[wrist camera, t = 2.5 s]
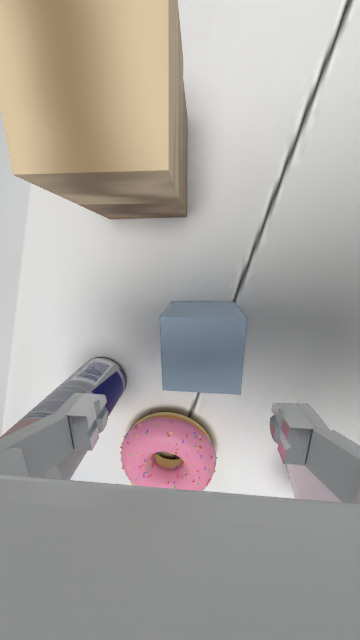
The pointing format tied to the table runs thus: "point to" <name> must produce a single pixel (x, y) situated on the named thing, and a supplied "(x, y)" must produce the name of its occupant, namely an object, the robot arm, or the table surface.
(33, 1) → the tower top
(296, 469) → the smoothie
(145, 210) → the tower base
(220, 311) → the blue block
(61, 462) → the energy drink
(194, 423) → the doughnut
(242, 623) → the robot arm
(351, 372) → the table surface
